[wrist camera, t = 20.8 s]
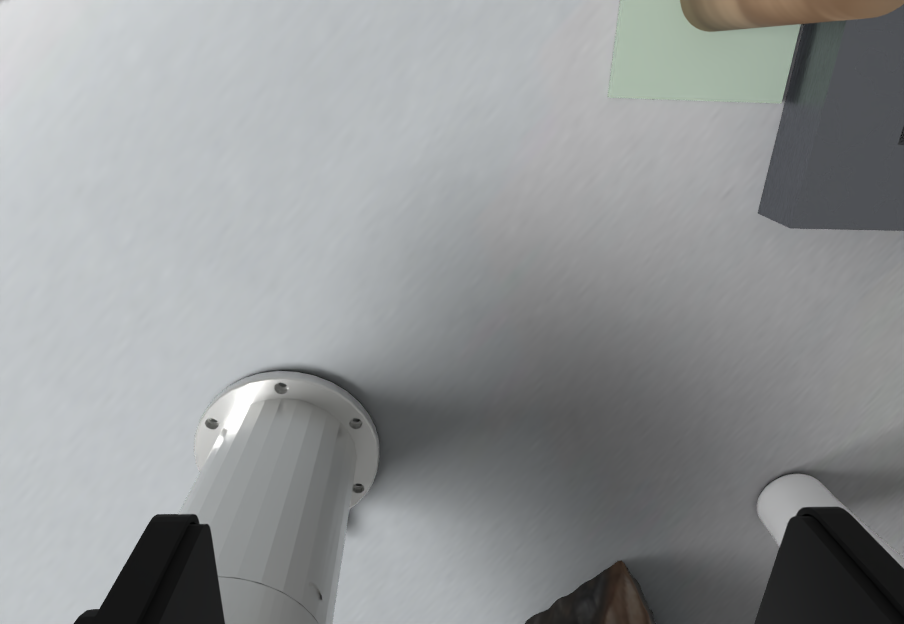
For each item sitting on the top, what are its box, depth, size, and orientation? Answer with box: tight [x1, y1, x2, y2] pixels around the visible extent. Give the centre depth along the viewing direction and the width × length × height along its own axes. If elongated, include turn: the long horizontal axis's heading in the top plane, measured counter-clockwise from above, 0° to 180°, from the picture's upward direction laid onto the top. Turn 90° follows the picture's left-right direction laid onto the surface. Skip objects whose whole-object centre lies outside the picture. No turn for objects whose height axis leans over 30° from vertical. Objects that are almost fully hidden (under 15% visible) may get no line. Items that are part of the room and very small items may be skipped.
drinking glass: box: [757, 474, 904, 568], centre depth 39 cm, size 7×7×15 cm
